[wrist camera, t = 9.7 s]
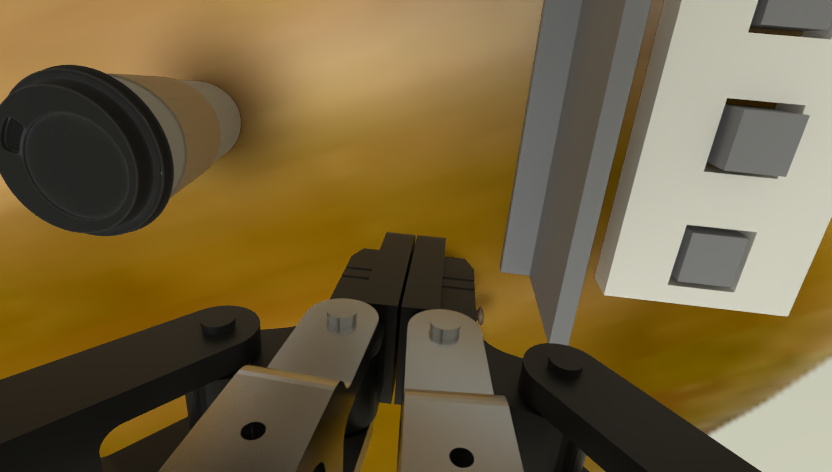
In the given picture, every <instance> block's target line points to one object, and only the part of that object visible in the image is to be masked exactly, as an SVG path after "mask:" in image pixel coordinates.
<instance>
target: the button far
mask: <svg viewBox="0 0 832 472" xmlns="http://www.w3.org/2000/svg"><path fill="white" fill-rule="evenodd" d="M748 242H749V238H747V237H746V236H744V235H743V234H742V233H740V232H739V231H737V230H732V229H722V228H713V227H704V226H694V225H687V226H686V229H685V232H684V235H683V238H682V241H681V244H680V248H679V251H678V254H677V257H676V260H675V263H674V266H673V269H672V273H671V275H672V276H673V277H674V278H675V279H676V280H677V281H679V282H688V283H696V284H705V285H714V286H723V287H732V284H733V281H734V279H735V276H736V274H737V271H738V268H739V266H740V263H741V260H742V258H743V255H744V252H745V250H746V247H747V244H748Z"/></svg>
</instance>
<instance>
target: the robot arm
mask: <svg viewBox="0 0 832 472" xmlns="http://www.w3.org/2000/svg"><path fill="white" fill-rule="evenodd" d="M445 241H446V238H439V237H430V236H420V235H418V236H417V240H416V244H415V235H410V234H400V233H391V232H387V233H386V235H385V238H384V241H383V243H382V246H381V248H380V250H374V249H365V248H364V249H362V250H361V251H359V252H358V253H356V254H354V255H353V256H351V258H350V260H349V262H348V264H347V266H346V268H345V270H344V272H343V274H342V277H341V278H340V280H339V282H338V284H337V286H336V288H335V290H334V292H333V294H332V296H331V298H330V300H326V301H322V302H320V303H317V304H316V305H314V306H312V307H311V308H310V309H309V310H308V311H307V312H306V314H305V315H304V316H303V318H302V319H301V320H300V322H299V323H298V325H297V326H294V327H288V328H278V329H265V330H260V320H259V317H258V316H257V315H256V314H255V313H254V312H253V311H251V310H249V309H247V308H243V307H239V306H216V307H211V308H207V309H203V310H200V311H197V312H194V313H191V314H189V315H186V316H183V317H180V318H177V319H174V320H171V321H168V322H165V323H163V324H160V325H157V326H154V327H151V328H148V329H145V330H142V331H140V332H137V333H134V334H131V335H128V336H125V337H122V338H119V339H117V340H114V341H111V342H108V343H105V344H102V345H99V346H96V347H94V348H91V349H88V350H85V351H82V352H79V353H76V354H73V355H70V356H68V357H65V358H62V359H59V360H56V361H53V362H50V363H47V364H45V365H42V366H39V367H36V368H33V369H30V370H27V371H24V372H22V373H19V374H16V375H13V376H10V377H7V378H4V379H1V380H0V472H360V470H361V467H362V464H363V461H364V458H365V455H366V452H367V449H368V446H369V443H370V439H371V436H372V432H373V420H374V418H375V416H376V413H377V410H378V405H379V402H381V403H389V404H391V401H392V396H393V391H394V386H395V381H396V387H395V401H394V404H399V405H401V415H400V427H399V439H398V455H397V472H589V471H588V470H587V469H586V468H585V467H584V466H583V464H584V461H585V457H586V455H587V456H589V457H590V458H591V459H592V460H593V461H594V462H595V463H597V464H598V465H599V466H600V467H601V468H602V469H603V470H605V471H606V472H761V471H760V470H758V469H757V468H755V467H754V466H752V465H751V464H749V463H748V462H746V461H745V460H743V459H742V458H740V457H739V456H738V455H736V454H734V453H733V452H732V451H730V450H729V449H727V448H725V447H724V446H723V445H721V444H720V443H718V442H717V441H715V440H714V439H712V438H711V437H709V436H708V435H707V434H705V433H704V432H702V431H701V430H699V429H698V428H696V427H695V426H693V425H692V424H690V423H689V422H687V421H686V420H684V419H683V418H681V417H680V416H679V415H677V414H676V413H674V412H673V411H671V410H670V409H668V408H667V407H665V406H664V405H662V404H661V403H659V402H658V401H656V400H655V399H653V398H652V397H651V396H649V395H648V394H646V393H645V392H643V391H642V390H640V389H639V388H637V387H636V386H634V385H633V384H631V383H630V382H628V381H627V380H625V379H624V378H622V377H621V376H620V375H618V374H617V373H615V372H614V371H612V370H611V369H609V368H608V367H606V366H605V365H603V364H602V363H600V362H599V361H597V360H596V359H594V358H593V357H592V356H590V355H588V354H587V353H585V352H583V351H581V350H579V349H576V348H573V347H570V346H567V345H562V344H555V343H545V344H539V345H535V346H533V347H531V348H530V349H528V350H527V351H526V353H525V354H524V357H523V358H520V357H517V356H513V355H510V354H508V353H505V352H502V351H500V350H498V349H496V348H494V347H493V346H491V345H490V344H488V343H487V342H486V341H485V340H484V339H483V336H482V331H481V328H480V327H479V325H478V324H477V323H476V308H475V292H474V290H475V287H474V269H473V268H472V267H471V266H470V264H469V263H468V262H467V261H466V260H465V259H460V258H451V257H444V253H445ZM183 395H185V397H186V404H187V411H188V417H186V418H184V419H182V420H180V421H178V422H176V423H174V424H172V425H170V426H168V427H166V428H164V429H162V430H160V431H158V432H156V433H154V434H152V435H150V436H148V437H146V438H144V439H142V440H140V441H138V442H136V443H133V444H131V445H129V446H127V447H125V448H123V449H121V450H119V451H117V452H115V453H113V454H111V455H109V456H106V457H102V458H100V455H99V450H100V446H101V443H102V441H103V440H104V438H105V437H106V436H107V435H108V433H109V432H110V431H112V430H113V429H114V428H116V427H117V426H118V425H120V424H122V423H124V422H126V421H129V420H131V419H133V418H135V417H137V416H139V415H142V414H144V413H146V412H148V411H150V410H152V409H155V408H157V407H159V406H161V405H163V404H166V403H168V402H170V401H172V400H174V399H176V398H179V397H181V396H183Z"/></svg>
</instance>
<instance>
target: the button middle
mask: <svg viewBox="0 0 832 472" xmlns="http://www.w3.org/2000/svg"><path fill="white" fill-rule="evenodd" d="M809 117H810V115H805V114H800V113H796V112H791V111H786V110H782V109H772V108H761V107H750V106H739V105H729V104H725V106H724V110H723V113H722V116H721V119H720V122H719V125H718V128H717V131H716V135H715V138H714V141H713V144H712V147H711V150H710V153H709V157H708V160H707V162H708V163H710V164H712V165H714V166H716V167H718V168H720V169H722V170H724V171H732V172H742V173H752V174H762V175H772V176H782V177H786V176H787V173H788V171H789V168H790V166H791V163H792V161H793V158H794V155H795V153H796V150H797V148H798V145H799V143H800V140H801V137H802V135H803V132H804V130H805V127H806V124H807V122H808V119H809Z"/></svg>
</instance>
